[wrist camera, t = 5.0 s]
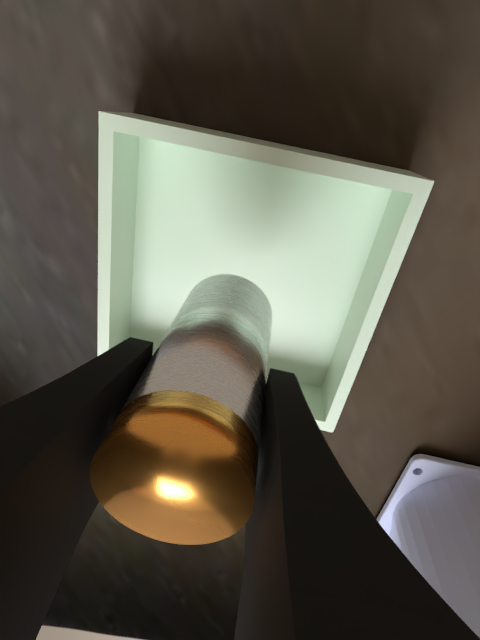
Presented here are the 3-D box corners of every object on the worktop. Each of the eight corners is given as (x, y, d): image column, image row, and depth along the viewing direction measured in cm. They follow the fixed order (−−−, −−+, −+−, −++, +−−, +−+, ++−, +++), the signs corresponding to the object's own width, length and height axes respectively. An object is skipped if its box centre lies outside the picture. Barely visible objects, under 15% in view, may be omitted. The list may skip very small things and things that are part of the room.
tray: (327, 391, 20) (332, 432, 17) (122, 345, 20) (97, 379, 18) (409, 170, 15) (434, 181, 12) (132, 112, 15) (98, 110, 12)
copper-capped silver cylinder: (262, 361, 14) (237, 559, 8) (180, 342, 14) (89, 523, 8) (281, 285, 12) (271, 452, 6) (190, 265, 12) (89, 411, 6)
